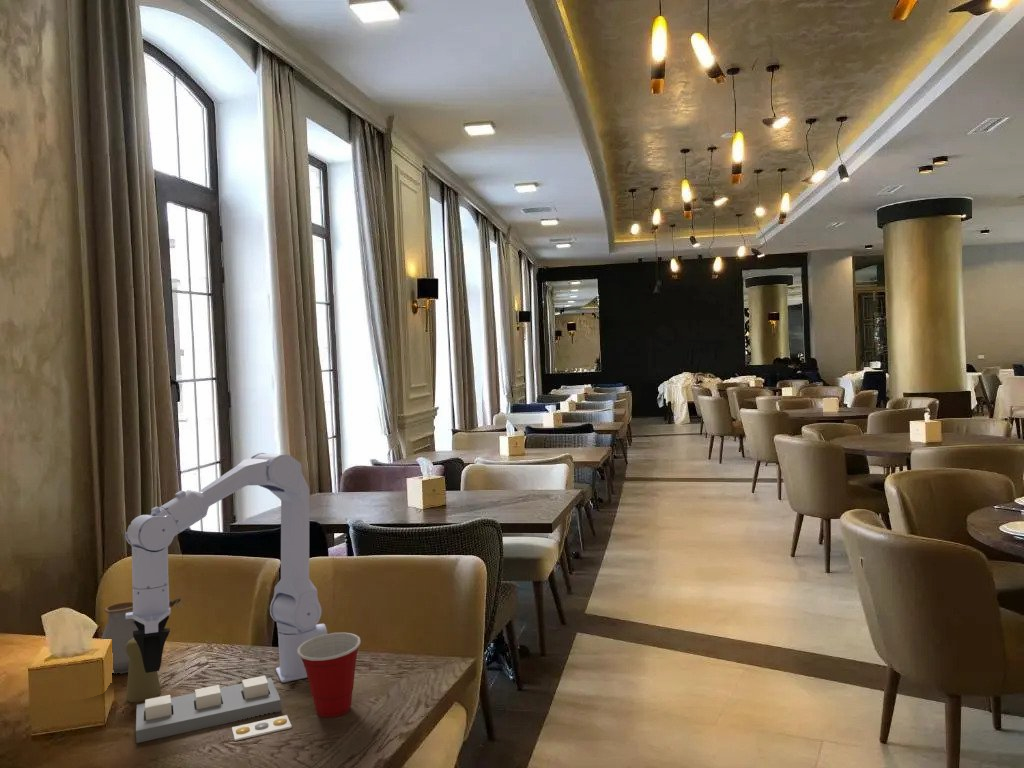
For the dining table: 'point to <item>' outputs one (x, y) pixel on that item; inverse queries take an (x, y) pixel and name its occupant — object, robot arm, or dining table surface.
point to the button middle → (208, 697)
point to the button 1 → (158, 707)
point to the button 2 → (255, 687)
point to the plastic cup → (331, 671)
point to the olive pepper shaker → (140, 676)
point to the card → (261, 727)
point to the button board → (205, 712)
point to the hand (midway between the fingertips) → (152, 664)
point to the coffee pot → (122, 632)
